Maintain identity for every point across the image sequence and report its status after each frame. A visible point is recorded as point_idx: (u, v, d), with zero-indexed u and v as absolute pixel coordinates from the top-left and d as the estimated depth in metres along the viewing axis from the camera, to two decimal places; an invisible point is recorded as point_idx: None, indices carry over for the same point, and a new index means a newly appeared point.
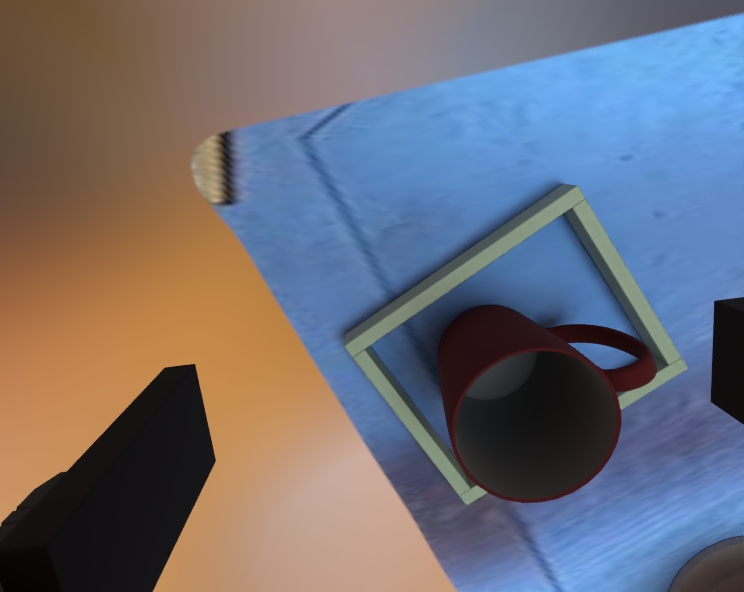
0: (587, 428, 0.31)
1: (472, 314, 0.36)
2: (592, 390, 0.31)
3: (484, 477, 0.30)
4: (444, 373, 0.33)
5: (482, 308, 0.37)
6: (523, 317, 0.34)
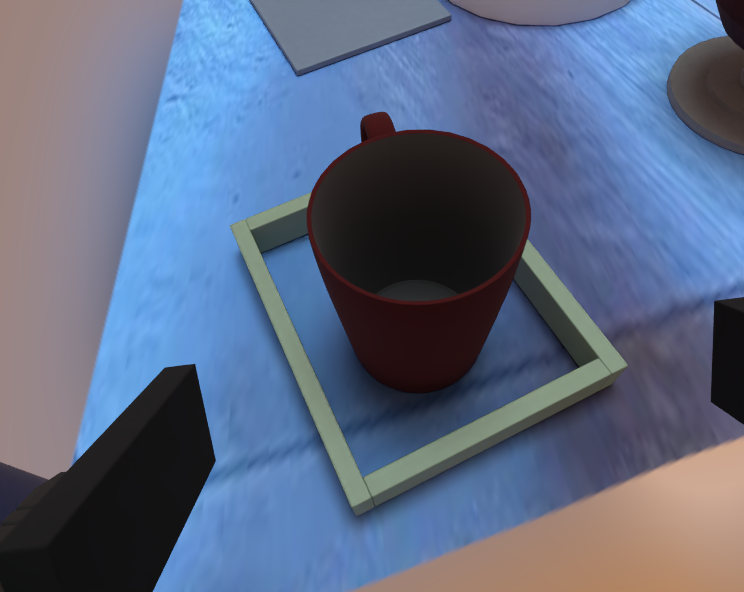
0: (457, 181, 0.25)
1: None
2: (409, 178, 0.26)
3: None
4: (382, 350, 0.24)
5: None
6: None
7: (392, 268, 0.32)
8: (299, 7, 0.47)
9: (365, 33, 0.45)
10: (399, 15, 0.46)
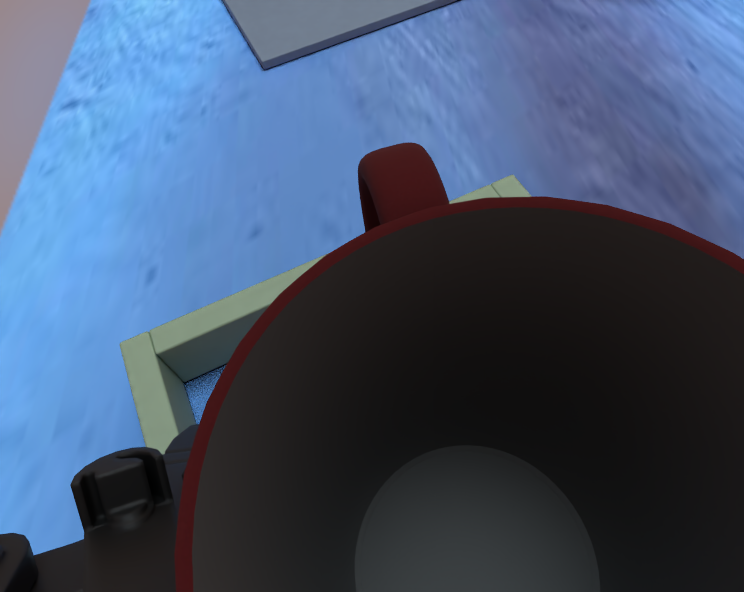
0: (599, 314, 0.10)
1: None
2: (477, 301, 0.11)
3: None
4: None
5: None
6: None
7: (424, 433, 0.16)
8: None
9: (367, 6, 0.29)
10: None
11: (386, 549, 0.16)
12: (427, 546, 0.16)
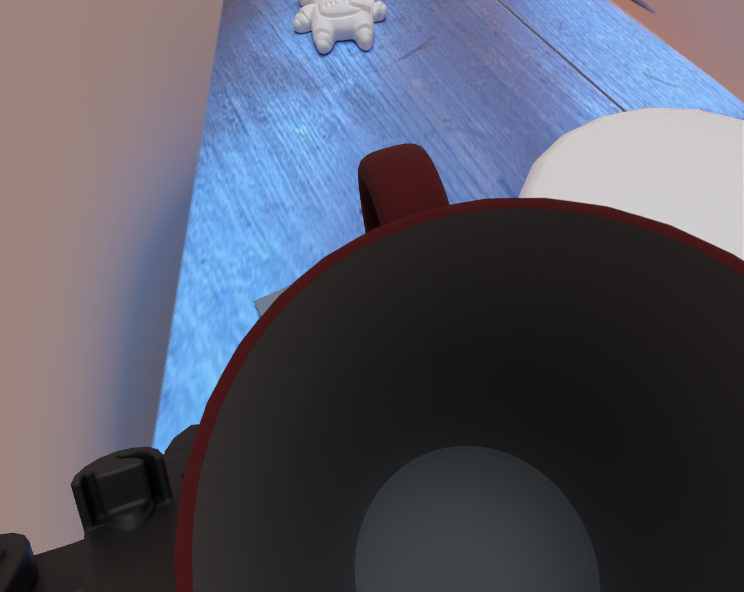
0: (600, 316, 0.10)
1: None
2: (477, 302, 0.11)
3: None
4: None
5: None
6: None
7: (424, 434, 0.16)
8: None
9: None
10: None
11: (386, 550, 0.16)
12: (427, 547, 0.16)
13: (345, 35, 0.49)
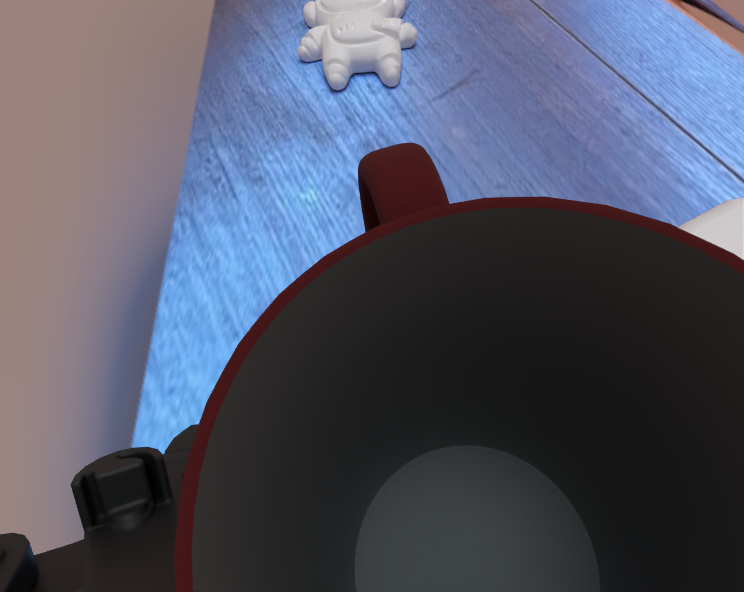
0: (599, 315, 0.10)
1: None
2: (477, 301, 0.11)
3: None
4: None
5: None
6: None
7: (424, 434, 0.16)
8: None
9: None
10: None
11: (386, 549, 0.16)
12: (427, 547, 0.16)
13: (365, 67, 0.38)
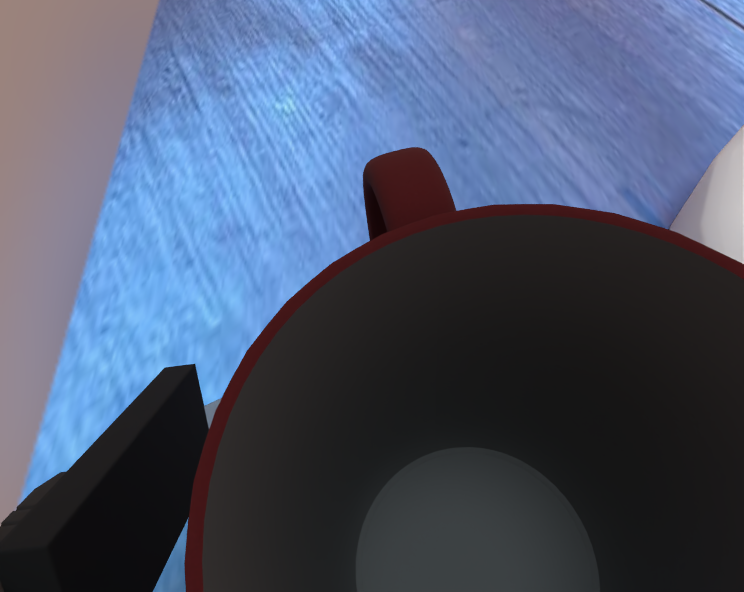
0: (604, 321, 0.10)
1: None
2: (482, 306, 0.11)
3: None
4: None
5: None
6: None
7: (425, 435, 0.16)
8: None
9: None
10: None
11: (387, 551, 0.16)
12: (428, 548, 0.16)
13: None
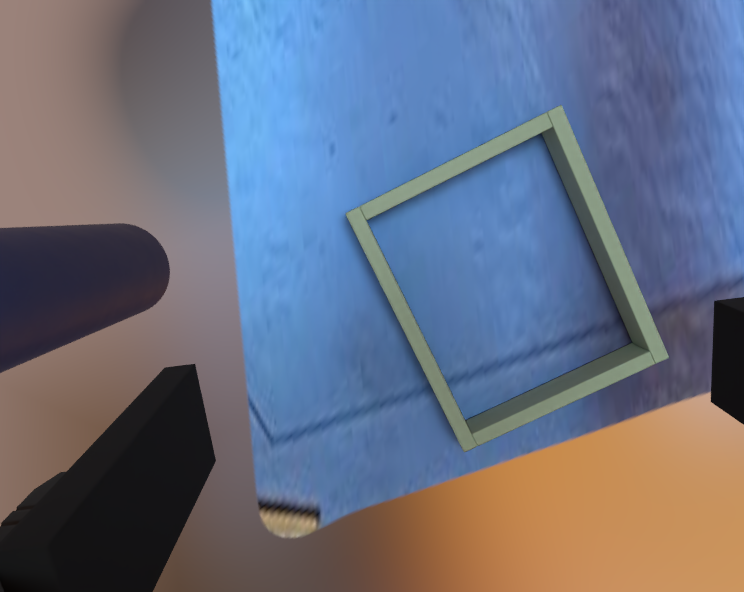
0: None
1: None
2: None
3: None
4: None
5: None
6: None
7: None
8: None
9: None
10: None
11: None
12: None
13: None
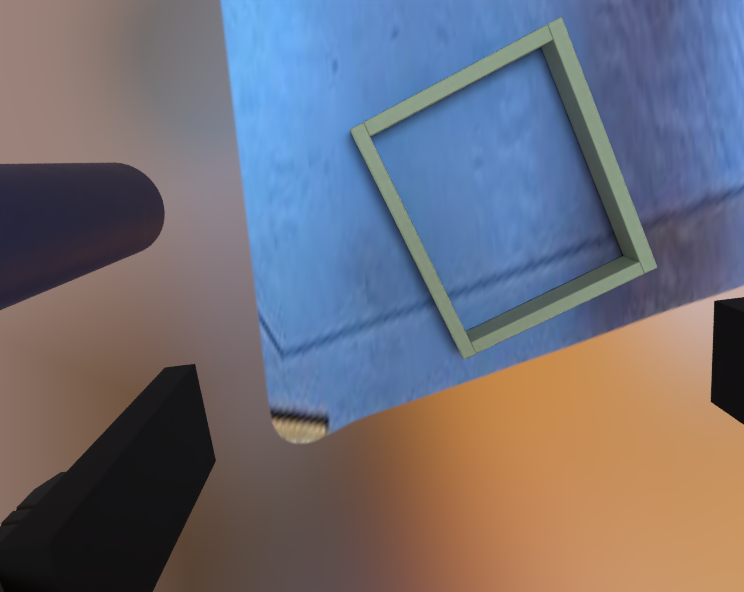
0: None
1: None
2: None
3: None
4: None
5: None
6: None
7: None
8: None
9: None
10: None
11: None
12: None
13: None
